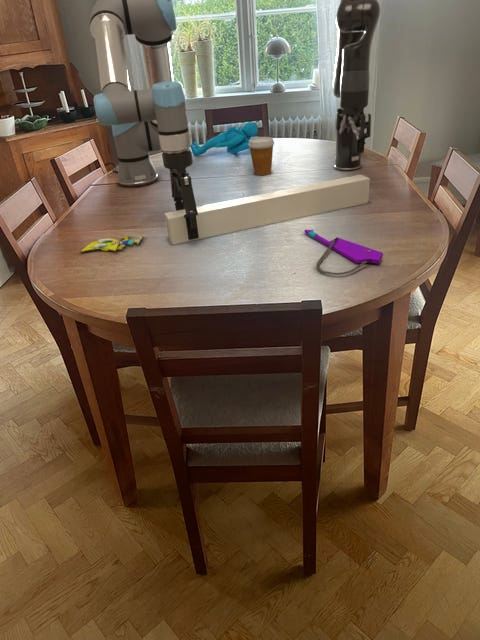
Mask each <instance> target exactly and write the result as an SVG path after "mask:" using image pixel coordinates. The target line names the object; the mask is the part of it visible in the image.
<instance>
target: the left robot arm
mask: <svg viewBox="0 0 480 640" xmlns="http://www.w3.org/2000/svg"><path fill="white" fill-rule="evenodd" d="M89 30H90V35H91V37H92V38H93V40H94V42H95V50H96V59H97V66H98V76H99V83H100V91H101V92H100V93H97V94H94V96H93V107H94V111H95V116H96V119H97V122H98V124H99V125H101V126H102V127H103V126H105V127H106V126H111V131H112V138H113V141H114V146H115V151H116V155H117V160H118V164H116V163H114V162H112V161H111V162H109V161H108V162H106V163H105V164H104V167H107V166H108V165H111V166H114V167H113V168H112V169H111V170H112V172H113V173H115V174H117V183H118V186H120V187H123V188H124V187H125V188H136V187H137V188H138V187H145V186H147V185H148V186H149V185H151V184H154V183H156V182H157V181H158V180H159V176H158V172H157V169H156V168H155V166H154V163H153V161H152V159H151V156H150V152H155V151H156V152H157V151H162V153H161V157H162V164H163V167H164V168H165V169H168V170H169V177H170V187H171V198H173V201H174V207H175V208H174V209H175V211H178V210H183V209H185V213H186V215H184V218H185V219H186V226H187V232H188V239H189V240H193V239H197V238H199V235H198V227H197V220H196V216H197V215H198V212H197V208H196V207H197V203H196V198H195V193H194V188H193V184H192V183H193V182H192V176H191V175H190V174H189V172H187V168H189V167H190V166H192V165H193V163H194V159H193V153H192V150H191V147H190V145H191V140H190V139H191V138H192V133H190V132H189V125H188V118H187V117H188V115H187V106H186V95H185V91H184V85H183V84H182V83H181V81H176V80H174V75H173V66H172V56H171V48H170V46H171V45H170V42H171V41H172V40H173V39H174V32H176V31H177V30H178V24H177V19H176V14H175V10H174V6H173V1H172V0H96V2H95V3H94V5H93V7H92V9H91V12H90V16H89ZM131 35H134V38H135V41H136V42H137V43H138V44H140V45H141V50H142V55H143V56H142V57H143V61H144V68H145V74H146V81H147V87H148V88H144V89H143V88H142V89H133V90H131V84H130V77H129V71H128V64H127V57H126V51H125V44H124V38H125V36H131ZM117 169H118V170H117ZM190 211H192V212H190ZM197 240H198V239H197ZM193 241H194V240H193Z"/></svg>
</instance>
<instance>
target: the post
mask: <svg viewBox="0 0 480 640" xmlns="http://www.w3.org/2000/svg"><path fill="white" fill-rule="evenodd" d="M370 181H371V178H370V177H367V176H366V175H363V174H356V175H350V176H345V177H341V178H336V179H331V180H326V181H321V182H316V183H311V184H305V185H299V186H296V187H295V186H294V187H290V188H286V189H280V190H275V191H269V192H265V193H260V194H256V195H255V194H254V195H250V196H244V197H240V198H235V199H229V200H224V201H219V202H214V203H209V204H203V205H199V206H196V208H197V212H198V215H197V216H196V220H197V227H198V235H199V238H197V239H193V240H189V239H188V232H187V226H186V219H185V218H184V215H186V213H185V209H183V210H178V211H176V210H174V211H167V212H164V218H165V225H166V232H167V237H168V239H169V241H170V243H171V244H172V245H173V246H174V245H179V244H183V243H188V242H192V241H198V240H201V239H206V238H211V237H215V236H220V235H225V234H229V233H234V232H239V231H244V230H248V229H253V228H258V227H262V226H266V225H271V224H276V223H277V224H278V223H281V222H285V221H290V220H294V219H300V218H304V217H310V216H313V215H319V214H322V213H323V214H324V213H327V212H332V211H336V210H341V209H346V208H350V207H356V206H360V205H365V204H369V200H370V199H369V198H370V185H371V184H370V183H371V182H370ZM190 212H192V211H190Z"/></svg>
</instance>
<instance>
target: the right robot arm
mask: <svg viewBox="0 0 480 640" xmlns="http://www.w3.org/2000/svg"><path fill="white" fill-rule="evenodd" d="M380 16H381V5H380V3H379V1H378V0H340V1H339V6H338V8H337V11H336V16H335V24H336V28H337V29H338V30H337V48H336V56H335V64H334V70H333V71H334V72H333V79H332V92H333V95H334V97H335V98H337V99H339V107H340V108H337V109H336V119H335V121H336V122H335V153H334V154H335V156H334V157H335V158H334V169H335V170H339V171H355V170H358V169H361V167H362V165H361V163H362V154H363V153H364V152H365V145H366V139H367V138H370V137H371V126H372V114H371V113H366V114H365V108H367V107H368V105H369V96H370V95H369V94H370V64H371V63H370V59H371V50H372V44H373V39H374V36H375V32H376V30H377V26H378V23H379V19H380Z"/></svg>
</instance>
